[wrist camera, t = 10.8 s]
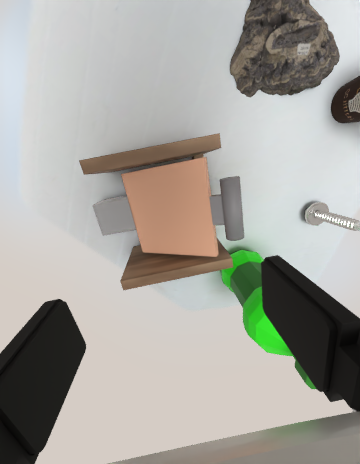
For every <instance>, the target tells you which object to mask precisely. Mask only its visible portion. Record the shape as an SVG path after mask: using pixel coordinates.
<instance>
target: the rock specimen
mask: <svg viewBox="0 0 360 464" xmlns="http://www.w3.org/2000/svg"><path fill="white" fill-rule="evenodd" d="M245 22H246V24H245V25H244V27H243V30H244V32H243V33H242V36H241V39H240V42H239V44H238V46H237V48H236V50H235V53H234V55H233V57H232V59H231V66H230V71H231V75H233V76H234V78H235V80H236V82H237V89H238V90H240V91H241V93H242V94H245V95H246V96H247V97H252V96H253V95H254V94H255V93H256V91H257V90H258V89H260V90H261V91H262V92H265V93H267V94H270V95H271V94H272V95H275V94H276V93H277V94H279V95H283V94H289V95H292V94H294V93H300V92H301V91H303V90H304V89H305V88H309V87H316V86H318V85H320V84H321V81H322V79H324V78H326V77H327V76H328V75H329V74H330V73H331V72H332V70H333V67H334V65H337V63H338V61H339V57H340V56H339V51H338V48H337V46H336V43H335V40H334V36H333V34H332V32H330V31H329V30H328V25H327V23H325V22H324V19H323V18H322V17H321V16H320V15H319V14H318V13H317V11H316V10H315V9H314V8H313V7H312V6H311V5H310V4H309V0H251V3H250V6H249V8H248V10H247V13H246V16H245Z"/></svg>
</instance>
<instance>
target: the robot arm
mask: <svg viewBox="0 0 360 464" xmlns="http://www.w3.org/2000/svg"><path fill="white" fill-rule="evenodd" d="M261 278H262V306H263V311H264V313H265V315H266V316H267V318H268V319H269V321H270V322H271V323H272V325H273V326H274V328H275V329H276V331H277V332H278V334H279V335H280V337H281V338H282V339H283V341H284V342H285V344H286V345H287V347H288V348H289V350H290V351H291V353H292V354H293V355H294V357H295V358H296V360H297V361H298V363H299V364H300V366H301V367H302V369H303V370H304V371H305V373H306V374H307V376H308V377H309V379H310V380H311V382H312V383H313V385H314V386H315V387H316V389H317V390H319V391H320V392H322V391H323V392H324V393H325V395H326V396H327V398H328V399H329V401H330V402H333V401H338V400H342V399H344V400H345V401H346V402H347V404H348V405H349V406H350V408H352V409H353V413H348V414H342V415H337V416H332V417H326V418H321V419H316V420H310V421H305V422H299V423H294V424H290V425H285V426H281V427H276V428H271V429H266V430H262V431H257V432H252V433H247V434H243V435H238V436H233V437H229V438H224V439H219V440H215V441H210V442H205V443H200V444H196V445H191V446H186V447H182V448H177V449H173V450H168V451H164V452H159V453H154V454H150V455H146V456H141V457H136V458H132V459H128V460H122V461H118V462H114V463H109V464H360V318H358V317H357V316H356V315H355V314H353V313H352V312H351V311H349V310H348V309H347V308H345V307H344V306H343V305H342V304H340V303H339V302H338V301H336V300H335V299H334V298H333V297H331V296H330V295H329V294H327V293H326V292H325V291H324V290H322V289H321V288H320V287H318V286H317V285H316V284H315V283H313V282H312V281H311V280H309V279H308V278H307V277H306V276H304V275H303V274H302V273H300V272H299V271H298V270H297V269H295V268H294V267H293V266H291V265H290V264H289V263H288V262H286V261H285V260H284V259H282V258H281V257H280V256H278V255H276V256H271V257H266V258H265V259H264V261H262V262H261ZM85 350H86V344H85V341H84V339H83V337H82V335H81V333H80V331H79V328H78V326H77V324H76V322H75V320H74V318H73V316H72V314H71V311H70V310H69V307H68V305H67V303H66V302H64V301H62V300H61V299H57V300H52V301H47V302H45V303H44V304H43V305H42V306H41V307H40V308H39V310H38V311H37V312H36V313H35V314H34V315H33V317H32V318H31V319H30V320H29V321H28V322H27V324H26V325H25V326H24V327H23V328H22V329H21V330H20V331H19V333H18V334H17V335H16V336H15V337H14V338H13V339H12V341H11V342H10V343H9V344H8V345H7V346H6V348H5V349H4V350H3V351H2V352H1V353H0V464H35V461H36V459H37V457H38V454H39V452H41V451H42V450H43V449H44V447H45V445H46V443H47V441H48V438H49V436H50V434H51V431H52V429H53V427H54V424H55V422H56V419H57V417H58V415H59V412H60V410H61V407H62V405H63V403H64V400H65V398H66V396H67V393H68V391H69V389H70V386H71V384H72V382H73V379H74V376H75V374H76V372H77V369H78V367H79V365H80V362H81V360H82V358H83V355H84V353H85Z"/></svg>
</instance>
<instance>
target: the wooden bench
mask: <svg viewBox="0 0 360 464" xmlns="http://www.w3.org/2000/svg"><path fill="white" fill-rule="evenodd" d="M219 148H221V143H220V133H219V134H214V135H209V136H203V137H198V138H193V139H188V140H183V141H178V142H173V143H167V144H162V145H157V146H152V147H147V148H142V149H136V150H131V151H126V152H121V153H116V154H111V155H106V156H100V157H95V158H90V159H85V160H80V161H79V162H80V165H81V167H82V170H83V173H84V174H96V173H108V172H115V171H120V170H126V169H131V168H136V167H141V166H146V165H151V164H156V163H161V162H166V161H171V160H177V159H182V158H187V157H192V156H193V159H198V158H203V154H204V153H207V152H210V151H213V150H216V149H219ZM217 244H218V252H219V254H218V256H217V257H212V256H195V255H179V254H162V253H145V252H143V251H142V248H141V245H139V246H134V247H133V249H132V252H131V255H130V257H129V260H128V263H127V265H126V268H125V271H124V273H123V276H122V279H121V284H122V287H123V290H127V289H131V288H137V287H141V286H146V285H151V284H156V283H161V282H165V281H170V280H175V279H180V278H184V277H189V276H194V275H199V274H204V273H208V272H213V271H218V270H223V269H228V268H232V267H233V260H232V257H231V256H230V254H229V253H228V252H227V251H226V249H225V248H224V247H223V245H222V244H221V243H220V241H219V240H218V239H217Z"/></svg>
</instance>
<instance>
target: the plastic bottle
mask: <svg viewBox="0 0 360 464" xmlns="http://www.w3.org/2000/svg"><path fill="white" fill-rule="evenodd" d="M230 256H231V257H232V260H233V267H232V268H228V269H223V270H222V281H223V283H224V284H225V285H226V286H227V287H228V288H229V289H230V290H231V291H232V292H234V293H235V295H236V297H237V298H238V300H239V302H240V304H241V305H242V307H243V323H244V326H245V330H246V331H247V333H248V335H249V336H250V337H251V338H252V339H253V340H254V341H255V342H256V343H257V344H258V345H259V346H261V347H262V348H263V349H264V350H265V351H266V352H269V353H274V354H279V355H287V356H293V357H294V355H293V354H292V353H291V351H290V350H289V348H288V347H287V345H286V344H285V342H284V341H283V339H282V338H281V337H280V335H279V334H278V332H277V331H276V329H275V328H274V326H273V325H272V323H271V322H270V321H269V319H268V318H267V316H266V315H265V313H264V311H263V306H262V278H261V262H262V261H264V260H263V259H262V257H261V256H260V255H259V254H258V253H257V252H251V251H245V250H239V251H237V252H235V253H233V254H230ZM294 358H295V357H294ZM295 360H296V358H295ZM295 368H296V370H297V371H298V373H299V374H300V376H301V377H302V379H303V380H304V382H305V383H306V384H307V385H308V386H309V387H310V388H311V389H316V387H315V386H314V385H313V383H312V382H311V380H310V379H309V377H308V376H307V374H306V373H305V371H304V370H303V369H302V367H301V366H300V364H299V363H298V361H297V360H296V361H295Z"/></svg>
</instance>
